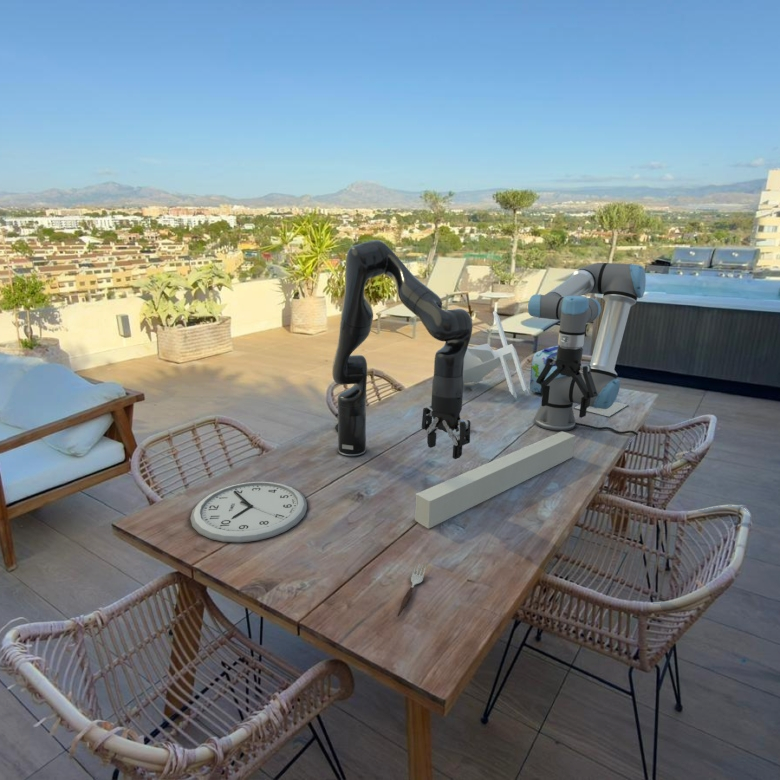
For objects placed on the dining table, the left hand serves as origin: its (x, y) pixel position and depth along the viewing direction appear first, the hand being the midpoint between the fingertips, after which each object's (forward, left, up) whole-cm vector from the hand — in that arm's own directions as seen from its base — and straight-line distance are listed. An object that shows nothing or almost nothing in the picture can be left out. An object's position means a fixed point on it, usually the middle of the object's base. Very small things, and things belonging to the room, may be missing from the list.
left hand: (443, 452), depth 133 cm
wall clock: (-11, -49, -19) cm, 54 cm away
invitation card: (-75, +95, -19) cm, 122 cm away
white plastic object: (-102, +49, -19) cm, 115 cm away
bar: (-14, +24, -19) cm, 33 cm away
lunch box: (-100, +83, -19) cm, 131 cm away
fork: (+28, -15, -19) cm, 37 cm away
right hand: (-28, +49, -1) cm, 56 cm away
